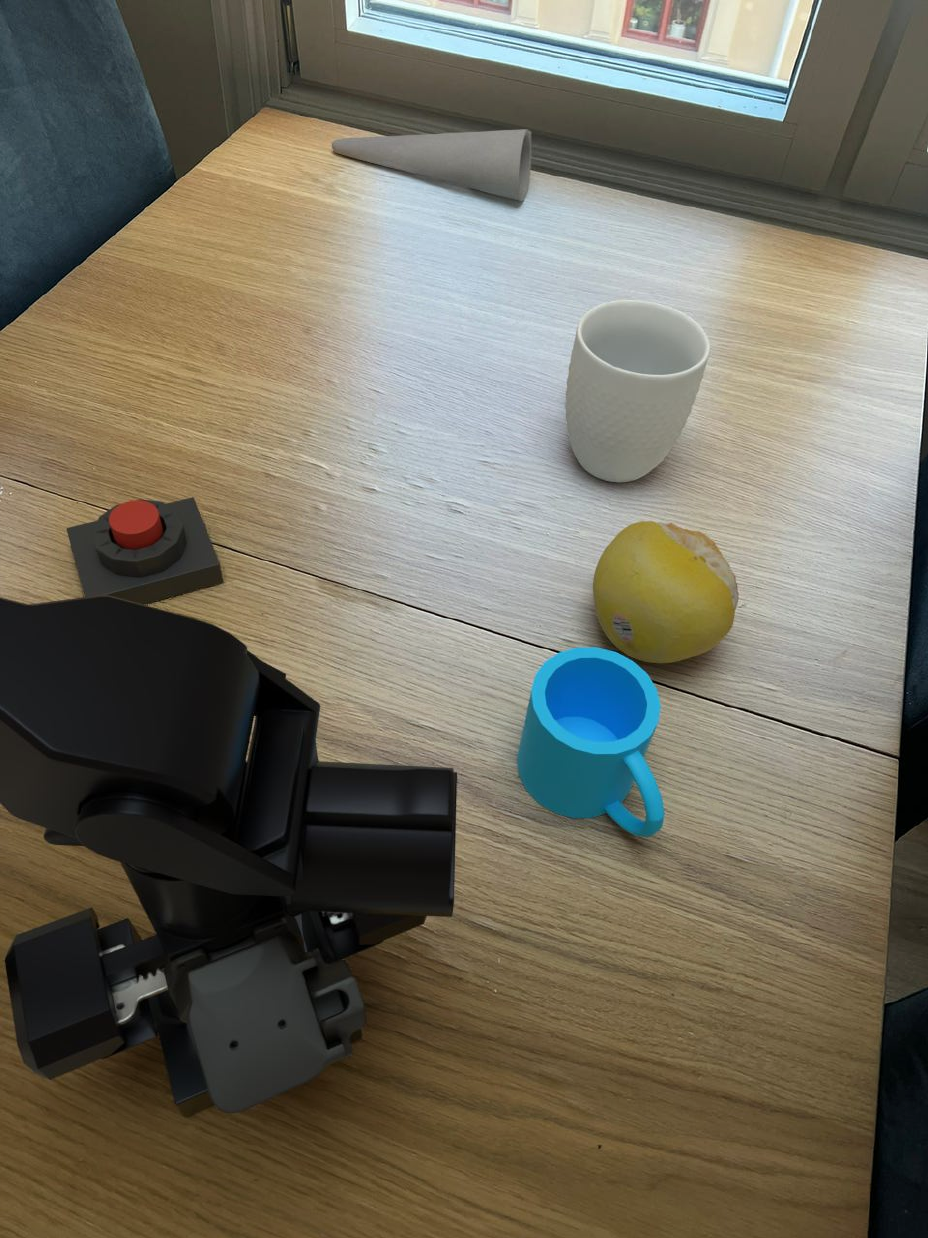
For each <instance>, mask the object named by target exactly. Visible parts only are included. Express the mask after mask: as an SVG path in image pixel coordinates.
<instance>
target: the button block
mask: <svg viewBox="0 0 928 1238" xmlns="http://www.w3.org/2000/svg"><path fill="white" fill-rule="evenodd" d="M139 500H142V501H146V502H149V503H151V504H153V505H154V506H155V507H156V508H157V509H158V512H159V516H160V520H161V524H162V527H163V533H162V536H161V538H160V539H159V540H158V541H157V542H156V543H154V544H153V545H152V546H148V547H145V548H141V549H137V550H132V549H125V548H123V547H121V546H120V545H118V544H117V543H116V541H115V539H114V536H113V533H112V530H111V527H110V524H109V516H110V514H111V512H112V511H113V510H114V509H115V508H116V507H117V506H119V505H120V504H121V503H118V504H115V505H114V506H112V507H111V508H110V509H109V510H107V511H105V512H104V513H103V514H101V515H100V516H99V517H98V519H97V520H94V521H90V522H86V523H81V524H78V525H73V526H69V527H66V528H65V529H66V533H67V536H68V540H69V544H70V549H71V552H72V555H73V560H74V563H75V566H76V571H77V574H78V578H79V582H80V586H81V589H82V593H83V597H90V596H97V595H108V596H113V597H117V598H120V599H124V600H128V601H132V602H135V603H139V604H143V605H148V604H152V603H155V602H158V601H162V600H166V599H170V598H173V597H177V596H181V595H185V594H187V593H192V592H196V591H199V590H203V589H207V588H210V587H213V586H216V585H220V584H224V577H223V572H222V568H221V563H220V561H219V558H218V555H217V553H216V550H215V548H214V545H213V543H212V541H211V537H210V535H209V532H208V530H207V527H206V525H205V522H204V520H203V517H202V515H201V512H200V510H199V507H198V505H197V502H196V500H195V497H194V496H193V497H188V498H184V499H180V500H176V501H172V502H167V503H165V502H163V501H158V500H151V499H141V498H140V499H139Z"/></svg>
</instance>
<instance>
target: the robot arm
mask: <svg viewBox="0 0 928 1238" xmlns="http://www.w3.org/2000/svg"><path fill="white" fill-rule="evenodd" d="M320 712H321V704H320V703H319V702H318V701H317V700H315V699H314V698H313V697H311V696H310V695H308V694H307V693H306V692H305V691H303V690H302V689H300V687H298V686H296V684H294V683H293V682H291V681H290V680H289V679H287V673H285V672H283V671H281V669H278V668H276V667H274V666H272V665H271V664H270V663H267V662H265V661H263V660H261V659H260V658H259V657H258V656H256V655H255V654H254V653H252V652H251V651H250V650H248V646H247V645H246V644H245V643H244V642H243V641H241V640H240V639H239V638H237V637H236V636H234V635H233V634H231V633H230V632H229V631H227V630H225V629H223V628H221V627H219V626H217V625H216V624H213V623H211V622H208V621H205V620H202V619H199V618H196V617H192V616H188V615H184V614H181V613H177V612H174V611H169V610H166V609H162V608H158V607H154V606H150V605H148V604H145V605H143V604H139V603H135V602H132V601H128V600H124V599H120V598H117V597H113V596H108V595H97V596H90V597H84V596H82V597H76V598H75V597H74V598H67V599H60V600H53V601H45V602H37V603H24V602H20V601H17V600H13V599H9V598H5V597H1V596H0V805H1V806H3V808H4V809H5V810H6V811H7V812H8V813H9V814H10V815H11V816H12V817H14V818H17V819H19V820H22V821H24V822H27V823H30V824H33V825H36V826H38V827H41V828H44V829H45V830H44V833H43V839H44V841H45V842H46V843H47V844H49V845H53V846H67V847H69V846H70V847H71V846H72V847H84V848H86V849H88V850H89V851H91V852H93V853H95V854H96V855H98V856H101V857H104V858H106V859H110V860H113V861H116V862H119V864H120V865H121V867H122V869H123V871H124V873H125V875H126V877H127V879H128V881H129V883H130V884H131V886H132V888H133V890H134V893H135V894H136V896H137V899H138V900H139V902H140V905H141V907H142V909H143V910H144V913H145V915H146V916H147V918H148V921H149V922H150V924H151V926H152V928H153V930H154V932H155V934H154V935H151V936H149V937H147V938H144V939H143V938H142V936H141V935H140V934H139V932H138V930H137V929H136V927H135V926H134V924H133V923H132V922H131V920H130V918H129V917H127V918H123V919H121V920H119V921H116V922H113V923H111V924H108V925H106V926H103V927H101V926H100V921H99V918H98V915H97V913H96V912H95V910H94V908H93V906H92V907H89V908H86V909H83V910H80V911H78V912H75V913H73V914H70V915H67V916H64V917H61V918H59V919H55V920H53V921H51V922H48V923H45V924H41V925H39V926H37V927H34V928H32V929H28V930H26V931H23V932H20V933H18V934H16V935H15V936H14V939H13V941H11V944H10V947H9V948H8V950H7V952H6V954H5V957H4V967H5V973H6V978H7V986H8V992H9V998H10V1005H11V1012H12V1018H13V1023H14V1024H13V1026H14V1031H15V1038H16V1039H15V1040H16V1045H17V1048H18V1051H19V1054H20V1057H21V1060H22V1062H23V1064H24V1065H25V1066H26V1067H27V1068H28V1069H30V1070H31V1071H32V1072H33V1073H34V1074H36V1075H38V1076H41V1077H42V1078H44V1079H48V1080H50V1081H51V1080H54V1079H56V1078H58V1077H61V1076H64V1075H66V1074H68V1073H70V1072H73V1071H76V1070H79V1069H80V1068H82V1067H84V1066H88V1065H89V1064H92V1063H94V1062H97V1061H99V1060H105V1059H108V1058H110V1057H113V1056H114V1055H118V1054H120V1053H122V1052H125V1051H126V1050H130V1049H132V1048H134V1047H136V1046H139V1045H141V1044H144V1043H147V1042H148V1041H151V1040H153V1039H156V1038H157V1037H158V1027H159V1026H179V1025H181V1024H184V1023H187V1024H189V1026H190V1029H191V1033H192V1036H193V1040H194V1043H195V1047H196V1050H197V1054H198V1057H199V1061H200V1064H201V1068H202V1071H203V1074H204V1078H205V1081H206V1085H207V1088H208V1092H209V1095H210V1098H211V1100H212V1102H213V1104H214V1105H213V1106H215V1108H216V1109H218V1111H220V1112H223V1113H225V1114H240V1113H242V1112H245V1111H247V1110H249V1109H251V1108H253V1107H255V1106H257V1105H260V1104H262V1103H264V1102H266V1101H268V1100H271V1099H274V1098H275V1097H277V1096H279V1095H282V1094H284V1093H286V1092H289V1091H290V1090H292V1089H295V1088H297V1087H299V1086H301V1085H304V1084H306V1083H308V1082H310V1081H312V1080H314V1079H315V1078H316V1077H318V1076H319V1075H320V1074H321V1073H322V1072H323V1070H324V1068H326V1067H328V1066H330V1065H332V1064H334V1063H337V1062H338V1061H341V1060H344V1059H345V1058H348V1057H350V1056H353V1055H354V1051H353V1047H352V1043H351V1044H350V1036H351V1034H352V1033H353V1032H355V1031H358V1030H360V1029H364V1028H366V1026H367V1024H368V1021H367V1014H366V1005H365V1002H364V1000H363V998H362V995H361V992H360V988H359V985H358V983H357V980H356V977H355V975H354V973H353V972H352V970H351V967H350V965H349V964H348V962H347V960H345V959H347V958H350V957H351V956H354V955H356V954H359V953H361V952H364V951H366V950H369V949H372V948H373V947H376V946H378V945H380V944H382V943H383V942H384V941H387V940H389V939H391V938H394V937H396V936H399V935H402V934H404V933H405V932H408V931H410V930H411V931H412V930H413V929H415V928H418V927H420V926H423V925H424V924H425V922H426V920H427V917H438V918H439V917H441V918H442V917H443V918H452V917H453V914H454V907H455V882H456V881H455V878H456V839H457V837H456V835H457V799H458V798H457V796H458V795H457V794H458V772H457V771H455V769H454V768H453V767H446V766H445V767H444V766H443V767H442V766H426V765H425V766H422V765H405V764H404V765H403V764H383V763H380V764H379V763H363V762H361V763H360V762H345V761H344V762H343V761H342V762H341V761H320V760H319V756H318V755H319V754H318V747H317V734H318V728H319V720H320ZM300 914H301V919H302V933H303V937H302V934H301V931H300V929H299V926H298V923H297V920H296V918H295V916H298V915H300ZM303 938H304V941H303ZM304 942H305V946H306V950H307V952H305V947H304ZM330 956H331V957H332V958H333V959H334V960H335V961H336V962H333V963H331V964H326V963H325V961H326V960H327V959H328V958H329V957H330ZM164 968H165V969H164ZM162 969H164V970H163V971H164V972H163V971H162Z"/></svg>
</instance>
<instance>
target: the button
mask: <svg viewBox="0 0 928 1238" xmlns="http://www.w3.org/2000/svg"><path fill="white" fill-rule="evenodd" d="M119 504H120V505H119V506H117V507H116V508H115V509H114V510H113V511H112V512H111V514H110V516H109V524H110V527H111V530H112V533H113V536H114V539H115V541H116V543H117V544H118V545H120V546H121V547H123V548H125V549H132V550H137V549H141V548H145V547H148V546H152V545H153V544H154V543H156V542H157V541H158V540H159V539H160V538H161V536H162V533H163V527H162V524H161V520H160V516H159V512H158V509H157V508H156V507H155V506H154V505H153V504H151V503H149V502H146V501H142V500H140V499H135V500H129V501H125V502H122V503H119Z"/></svg>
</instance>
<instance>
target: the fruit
mask: <svg viewBox="0 0 928 1238" xmlns="http://www.w3.org/2000/svg"><path fill="white" fill-rule="evenodd" d="M738 590H739V588H738V583H737V578H736V575H735V573H734V571H733V570H732V569H731V566H730V564H729V562H728V561H727V559H726V558H725V557H724V554H723V553H722V552H721V550H720V549H719V547H718V545H717V544H716V542H715V541H714V540H713V539H711V538H710V537H709V536H707V534H705V533H703V532H701V531H696V530H689V529H688V528H682V527H681V526H678V525H676V524H673V522H671V523H670V522H661V521H660V522H655V521H653V520H650V521H645V520H642V521H638V522H633V523H632V524H629V525H627V526H626V527H624V528H623V529H621V530H620V531H619V532H618V533H617V534H616V536H614V538H613V539H612V540H611V541H610V542H609V544H607V546H606V547H605V549H604V550H603V552H602V554H601V555H600V557H599V559H598V562H597V564H596V567H595V569H594V574H593V581H592V595H593V603H594V609H595V614H596V616H597V619H598V622H599V624H600V626H601V628H602V630H603V632H604V634H605V635H606V637H607V638H608V640H609V641H610V642H611V643H612V644H613V646H615V647H616V648H617V649H618V650H619V651H620V652H622V653H624V654H625V655H627V656H629V657H631V658H633V659H634V660H635V659H636V660H638V661H642V662H645V663H652V664H669V663H671V664H672V663H676V662H677V663H678V662H680V661H684V660H687V659H690V658H694V657H698V656H700V655H703V654H705V653H708V651H710V650H712V649H714V648H715V647H716V646H718V644H719V643H721V641H722V640H724V638H726V636H727V635H728V633H730V631H731V629H732V628H733V625H734V620H735V614H736V613H735V612H736V609H737V606H738V604H739V599H740V597H739V591H738Z"/></svg>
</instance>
